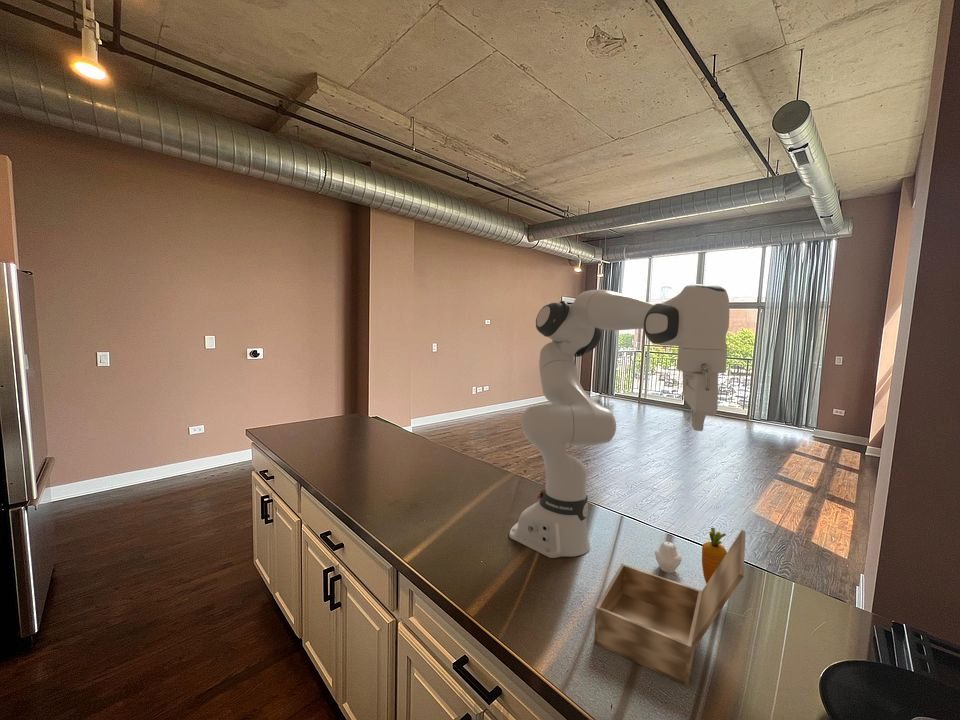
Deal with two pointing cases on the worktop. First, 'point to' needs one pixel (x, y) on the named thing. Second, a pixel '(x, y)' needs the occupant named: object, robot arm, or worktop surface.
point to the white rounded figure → (668, 557)
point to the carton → (649, 622)
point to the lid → (720, 587)
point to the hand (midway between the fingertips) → (697, 429)
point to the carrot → (712, 554)
